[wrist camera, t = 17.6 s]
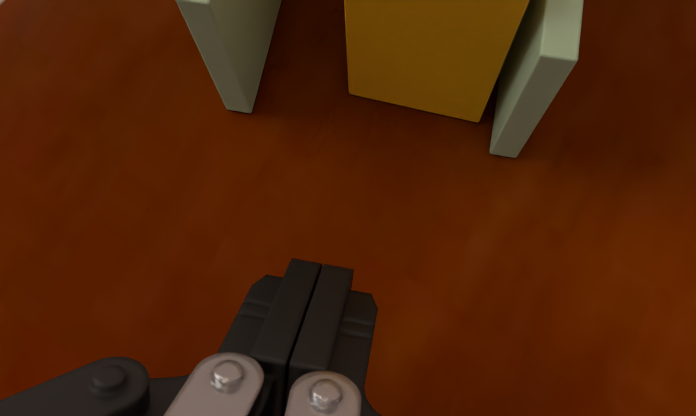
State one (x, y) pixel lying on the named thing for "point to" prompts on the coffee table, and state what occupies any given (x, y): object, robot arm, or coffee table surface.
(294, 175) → the coffee table surface
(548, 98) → the bracket
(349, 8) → the yellow rectangular block
